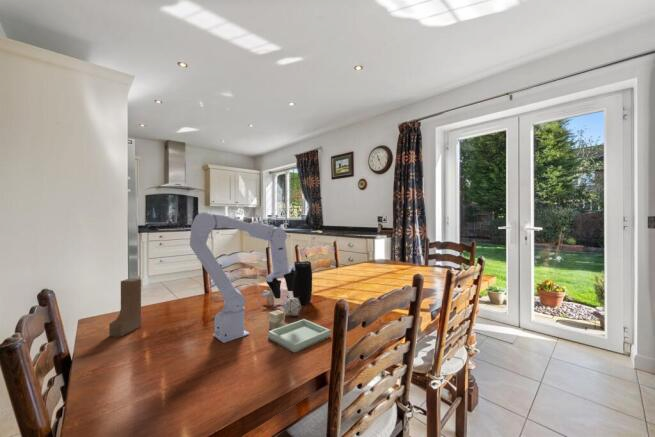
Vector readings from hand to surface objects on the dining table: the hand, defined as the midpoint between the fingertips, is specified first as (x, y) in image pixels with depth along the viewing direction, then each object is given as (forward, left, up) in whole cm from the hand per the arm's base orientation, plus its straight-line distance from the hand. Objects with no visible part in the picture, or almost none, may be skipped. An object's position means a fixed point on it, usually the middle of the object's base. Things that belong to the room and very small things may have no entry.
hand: (284, 294), depth 105 cm
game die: (+9, +6, -12) cm, 16 cm away
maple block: (-3, 0, -12) cm, 12 cm away
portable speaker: (+23, +16, -12) cm, 30 cm away
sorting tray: (-2, -12, -12) cm, 17 cm away
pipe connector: (+11, +24, -12) cm, 29 cm away
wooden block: (-43, +35, -12) cm, 57 cm away
